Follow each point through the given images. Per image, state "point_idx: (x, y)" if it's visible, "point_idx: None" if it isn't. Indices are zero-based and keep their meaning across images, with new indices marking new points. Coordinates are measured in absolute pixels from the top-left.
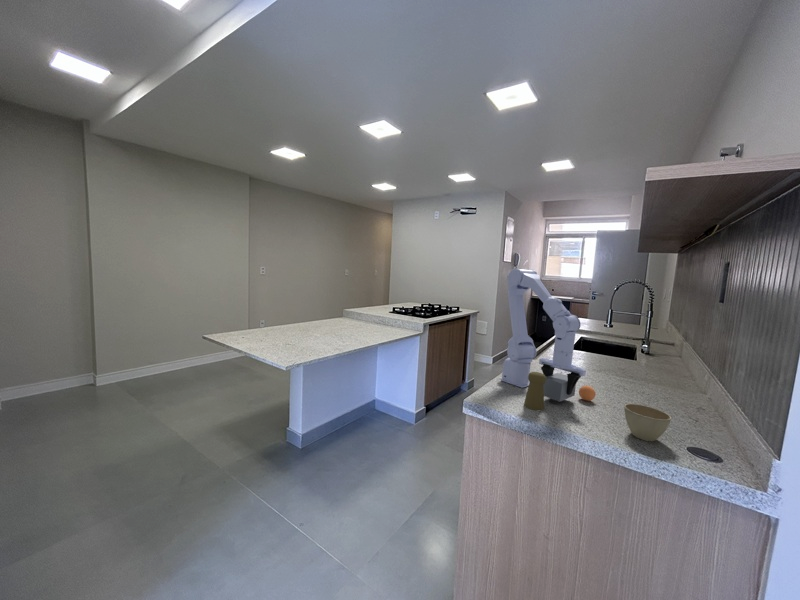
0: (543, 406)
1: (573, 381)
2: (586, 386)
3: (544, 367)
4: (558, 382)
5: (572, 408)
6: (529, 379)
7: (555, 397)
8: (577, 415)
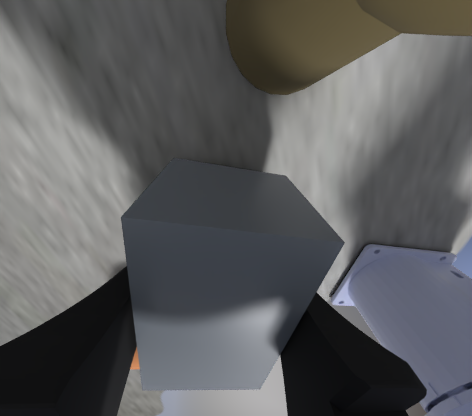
0: (229, 5)
1: (50, 321)
2: (135, 361)
3: (389, 400)
4: (168, 221)
5: (138, 192)
6: None
7: (201, 167)
8: (70, 113)
